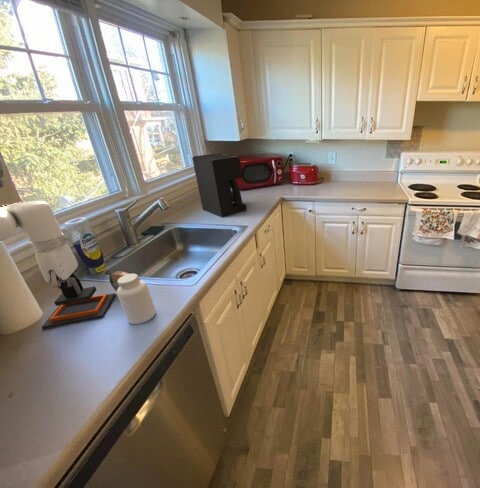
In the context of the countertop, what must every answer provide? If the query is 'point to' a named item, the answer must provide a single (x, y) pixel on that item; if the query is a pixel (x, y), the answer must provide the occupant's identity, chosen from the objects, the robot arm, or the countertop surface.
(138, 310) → the pill bottle
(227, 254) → the countertop surface
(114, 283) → the tin
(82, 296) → the stud pad
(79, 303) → the base pad
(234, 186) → the coffee maker
